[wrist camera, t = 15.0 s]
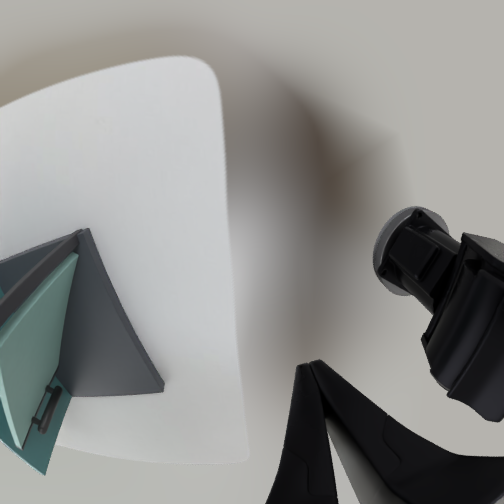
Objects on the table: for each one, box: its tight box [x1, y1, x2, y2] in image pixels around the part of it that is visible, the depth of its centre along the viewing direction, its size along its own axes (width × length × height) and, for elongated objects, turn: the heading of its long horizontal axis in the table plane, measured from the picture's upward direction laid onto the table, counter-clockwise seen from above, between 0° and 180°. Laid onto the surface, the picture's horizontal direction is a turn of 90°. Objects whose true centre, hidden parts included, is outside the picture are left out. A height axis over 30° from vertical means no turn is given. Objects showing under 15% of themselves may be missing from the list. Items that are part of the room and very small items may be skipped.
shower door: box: [0, 252, 79, 451], centre depth 16 cm, size 2×14×11 cm, turn 150°
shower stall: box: [0, 228, 165, 475], centre depth 17 cm, size 13×17×12 cm
